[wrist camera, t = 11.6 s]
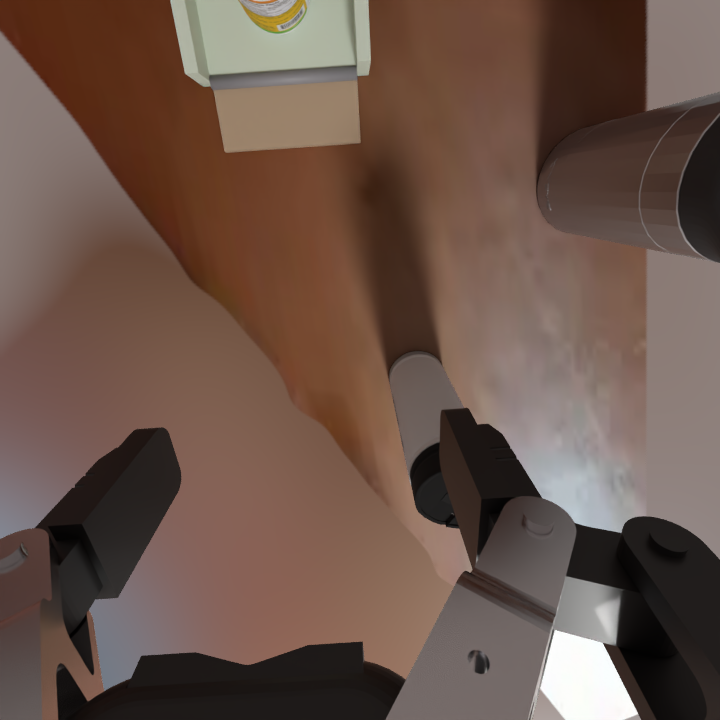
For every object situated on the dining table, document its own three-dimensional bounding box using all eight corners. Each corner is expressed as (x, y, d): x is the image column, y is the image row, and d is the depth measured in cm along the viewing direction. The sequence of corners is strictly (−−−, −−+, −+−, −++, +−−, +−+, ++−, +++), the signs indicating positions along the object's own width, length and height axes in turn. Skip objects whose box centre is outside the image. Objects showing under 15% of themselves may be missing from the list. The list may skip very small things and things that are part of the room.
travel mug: (455, 363, 44) (531, 487, 25) (423, 407, 46) (472, 551, 28) (409, 338, 42) (454, 451, 24) (378, 384, 45) (398, 520, 26)
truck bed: (359, -127, 28) (360, -175, 24) (371, 142, 35) (374, 136, 31) (166, -113, 28) (137, -159, 24) (216, 153, 35) (200, 149, 31)
